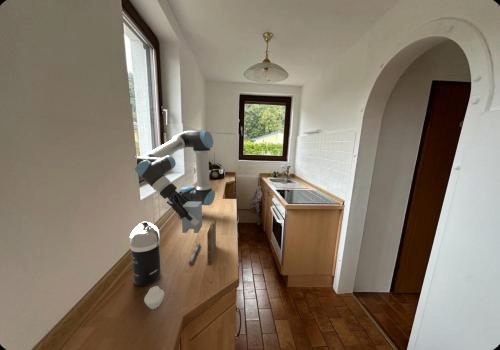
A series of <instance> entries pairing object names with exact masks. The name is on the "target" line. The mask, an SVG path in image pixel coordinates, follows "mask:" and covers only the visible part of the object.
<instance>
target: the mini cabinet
mask: <svg viewBox="0 0 500 350" xmlns="http://www.w3.org/2000/svg"><path fill="white" fill-rule="evenodd" d="M183 207H184V208H185V209H186V211H187V212H188V213H190V214H191V215H192V216H194V217H195V218H196V219H197V220H198V221H199V223H198V224H197V225H196V226H194V225H193V224H192V223H191V222H190V221H189V220H188V219H187V218H185V217H184V218H182V219H181V227H182V228H181V233H183V234H187V233H188V231H189V230H193V233H194V234H200V233H199V232H200V230H201V228H202V227H203V216H202V214H203V205H202V202H194V201H188V202H186V203H185V204H184V205H183Z"/></svg>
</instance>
